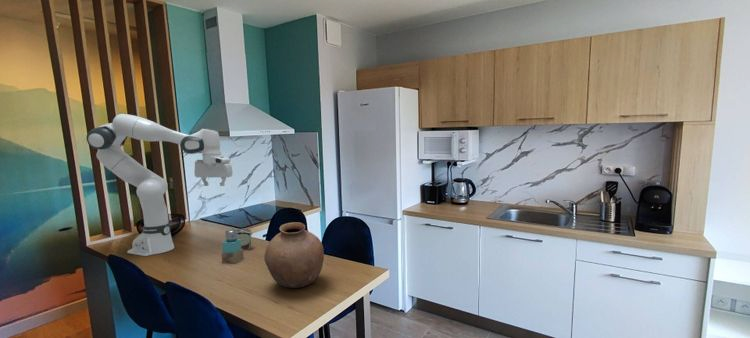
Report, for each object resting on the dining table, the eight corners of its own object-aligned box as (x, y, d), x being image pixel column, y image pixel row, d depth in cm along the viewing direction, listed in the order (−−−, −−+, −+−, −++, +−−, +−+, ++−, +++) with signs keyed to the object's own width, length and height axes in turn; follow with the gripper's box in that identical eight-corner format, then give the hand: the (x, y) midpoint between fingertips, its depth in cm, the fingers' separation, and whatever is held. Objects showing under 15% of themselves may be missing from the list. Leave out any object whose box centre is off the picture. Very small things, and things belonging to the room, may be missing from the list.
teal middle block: (222, 252, 170) (222, 242, 170) (230, 248, 176) (229, 238, 176) (234, 253, 169) (233, 243, 168) (241, 249, 175) (240, 239, 174)
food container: (257, 246, 193) (255, 228, 192) (252, 250, 187) (250, 231, 186) (235, 246, 195) (233, 228, 193) (229, 250, 188) (228, 231, 187)
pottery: (300, 268, 160) (297, 214, 158) (337, 281, 146) (334, 221, 143) (255, 287, 143) (250, 226, 140) (291, 303, 128) (287, 236, 125)
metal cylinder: (223, 242, 170) (223, 231, 170) (230, 238, 175) (229, 228, 175) (233, 242, 169) (232, 232, 169) (239, 239, 174) (238, 229, 173)
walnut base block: (222, 263, 170) (221, 253, 170) (230, 258, 177) (229, 248, 177) (235, 263, 169) (234, 253, 168) (243, 258, 176) (242, 248, 175)
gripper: (190, 160, 185) (192, 186, 187) (225, 159, 181) (227, 186, 182) (198, 159, 191) (200, 184, 193) (233, 158, 187) (235, 184, 189)
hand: (214, 185), depth 188 cm, fingers open, 8 cm apart
